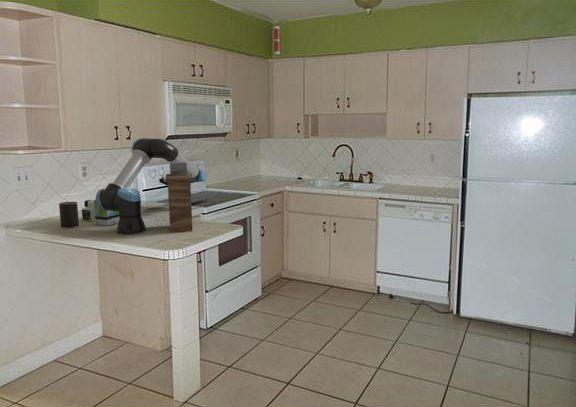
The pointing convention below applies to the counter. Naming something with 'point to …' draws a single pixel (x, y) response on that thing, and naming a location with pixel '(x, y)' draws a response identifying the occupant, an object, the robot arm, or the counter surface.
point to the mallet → (178, 168)
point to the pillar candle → (68, 214)
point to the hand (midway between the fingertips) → (174, 174)
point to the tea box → (105, 216)
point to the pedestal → (180, 202)
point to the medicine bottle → (88, 211)
